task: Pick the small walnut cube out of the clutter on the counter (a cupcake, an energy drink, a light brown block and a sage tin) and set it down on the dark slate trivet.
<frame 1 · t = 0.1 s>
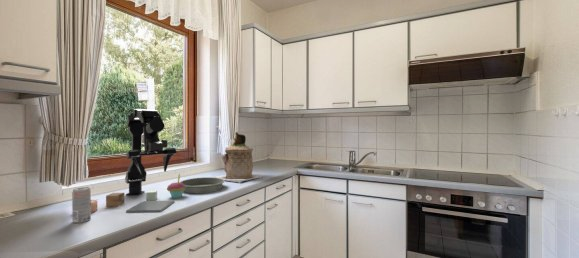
hand: (153, 172, 111), 15 cm above the countertop, tool pointing down, fingers open, 9 cm apart
cupcake: (176, 197, 131), on the countertop
cake pan: (202, 189, 148), on the countertop
energy drink: (81, 221, 97), on the countertop
slate trivet: (151, 207, 114), on the countertop
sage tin: (151, 199, 126), on the countertop
walnut cube: (115, 205, 117), on the countertop
light brown block: (87, 211, 108), on the countertop
cookie jar: (238, 178, 178), on the countertop
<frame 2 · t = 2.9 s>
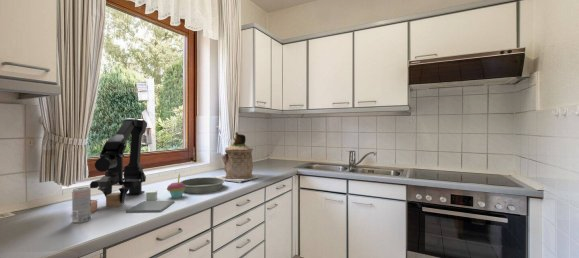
hand: (115, 202, 117), 1 cm above the countertop, tool pointing down, fingers closed on walnut cube, 5 cm apart
walnut cube: (115, 204, 117), on the countertop, touching gripper
everything else where it was.
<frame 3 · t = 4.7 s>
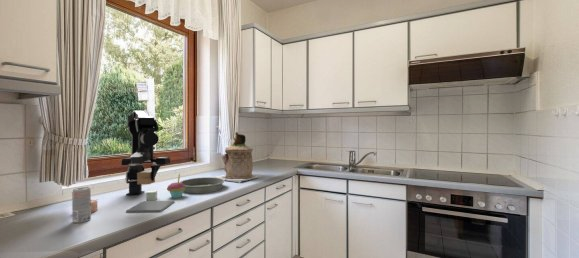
hand: (146, 180, 114), 12 cm above the countertop, tool pointing down, fingers closed on walnut cube, 5 cm apart
walnut cube: (146, 183, 113), point 11 cm above the countertop, touching gripper
everything else where it was.
when the fingers open (3 cm above the countertop, at t = 6.7 s): walnut cube drops 1 cm, resting on slate trivet.
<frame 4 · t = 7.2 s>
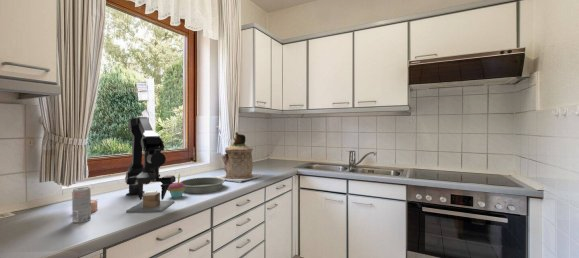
hand: (151, 199, 114), 3 cm above the countertop, tool pointing down, fingers open, 9 cm apart
walnut cube: (151, 205, 114), point 1 cm above the countertop, touching slate trivet
everything else where it was.
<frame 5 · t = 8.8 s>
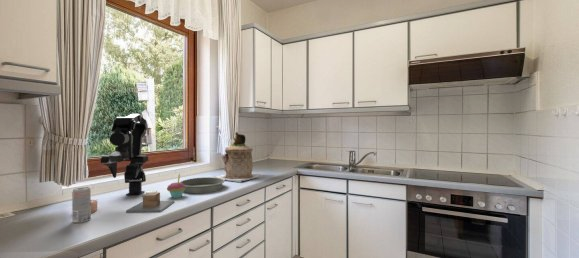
hand: (125, 177, 120), 12 cm above the countertop, tool pointing down, fingers open, 9 cm apart
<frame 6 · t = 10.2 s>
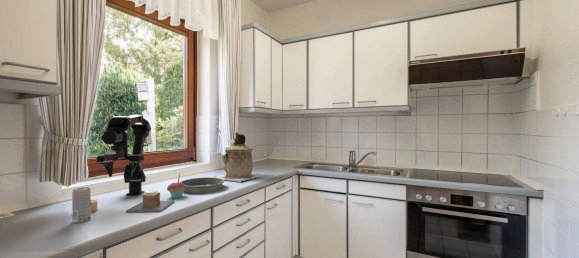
hand: (120, 176, 121), 12 cm above the countertop, tool pointing down, fingers open, 9 cm apart
at the end: walnut cube inside the target area on the slate trivet (0.1 cm from its centre), point 0.8 cm above the slate trivet's base; walnut cube tilted 0°; the gripper is holding nothing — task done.
